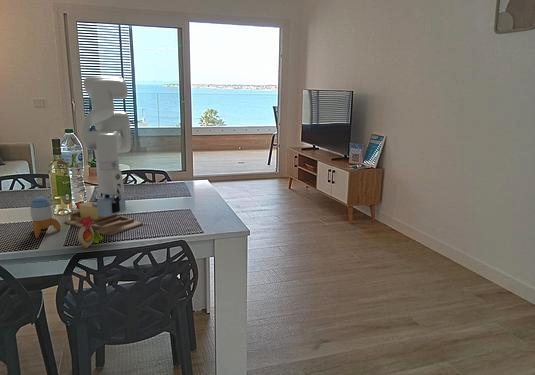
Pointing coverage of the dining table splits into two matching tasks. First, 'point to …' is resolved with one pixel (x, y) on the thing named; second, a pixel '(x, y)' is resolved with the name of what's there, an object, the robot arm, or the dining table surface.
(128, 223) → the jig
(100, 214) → the plank
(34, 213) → the toy rocket
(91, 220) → the bird rattle
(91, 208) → the block
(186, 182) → the dining table surface
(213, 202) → the dining table surface
